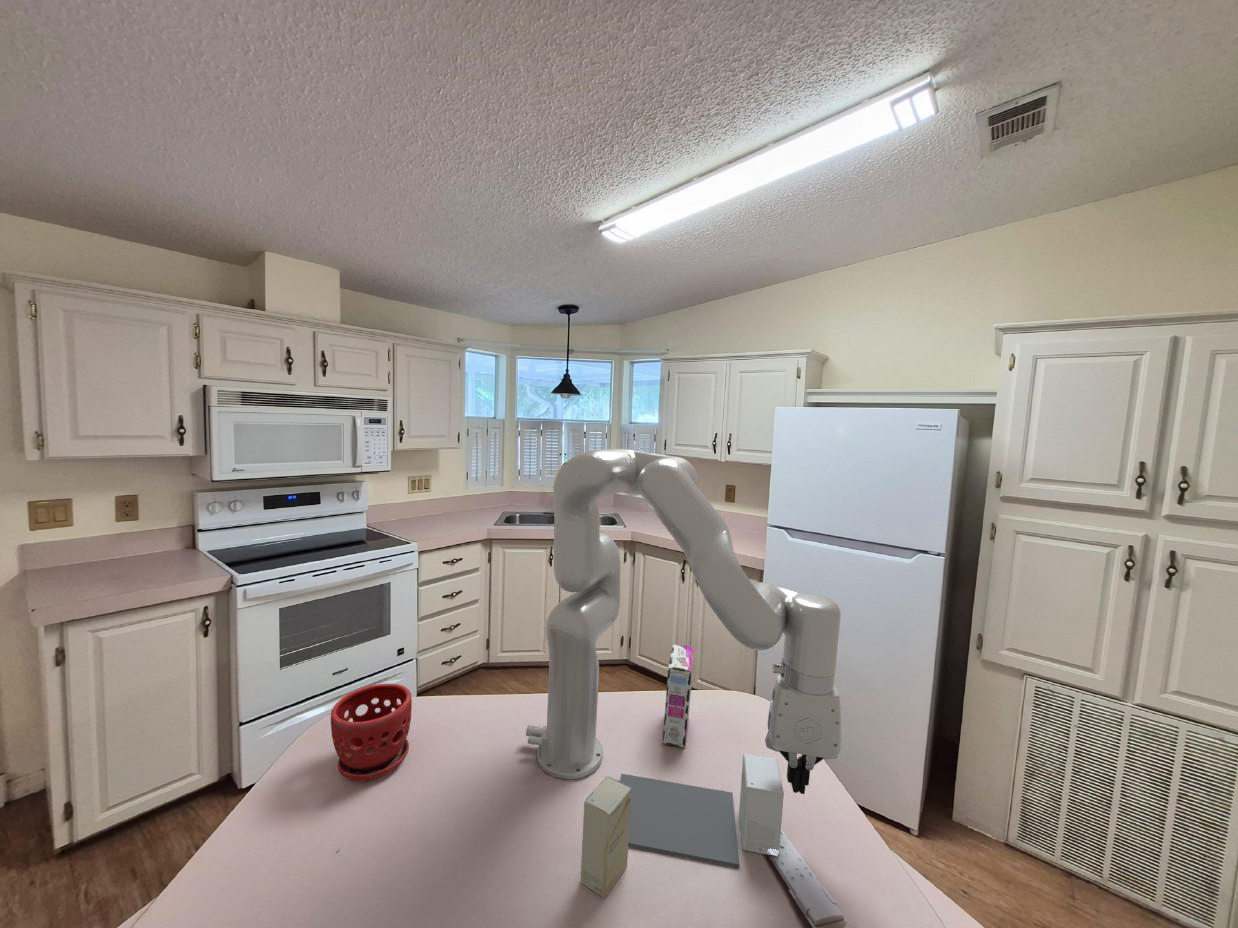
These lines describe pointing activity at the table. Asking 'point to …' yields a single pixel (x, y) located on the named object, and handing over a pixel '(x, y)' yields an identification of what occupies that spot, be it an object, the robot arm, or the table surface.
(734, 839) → the mat
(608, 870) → the skincare box
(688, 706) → the candy bar box
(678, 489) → the robot arm
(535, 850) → the table surface
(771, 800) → the small box
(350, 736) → the plant pot
